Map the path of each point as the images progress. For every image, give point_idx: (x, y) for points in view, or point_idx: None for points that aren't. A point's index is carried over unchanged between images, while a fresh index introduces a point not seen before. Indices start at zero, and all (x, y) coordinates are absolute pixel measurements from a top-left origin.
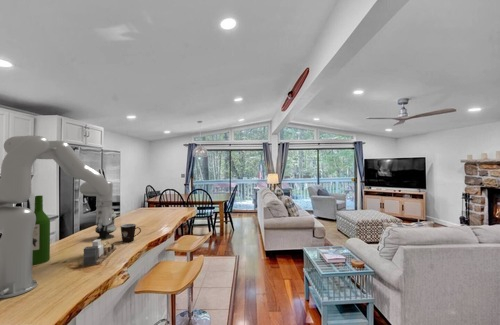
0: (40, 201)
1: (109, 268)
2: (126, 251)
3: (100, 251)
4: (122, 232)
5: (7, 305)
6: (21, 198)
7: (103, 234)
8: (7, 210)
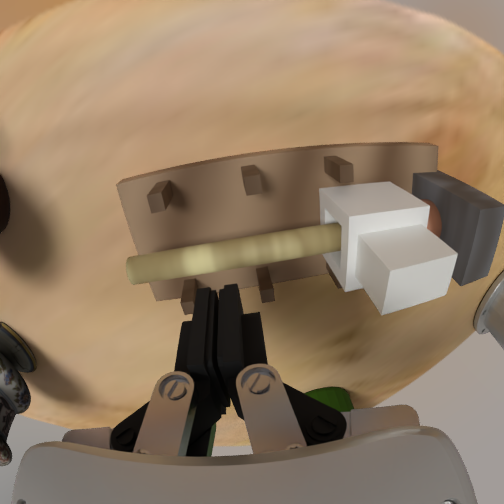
0: None
1: (471, 78)
2: (185, 53)
3: (390, 194)
4: None
5: None
6: None
7: (261, 333)
8: None
